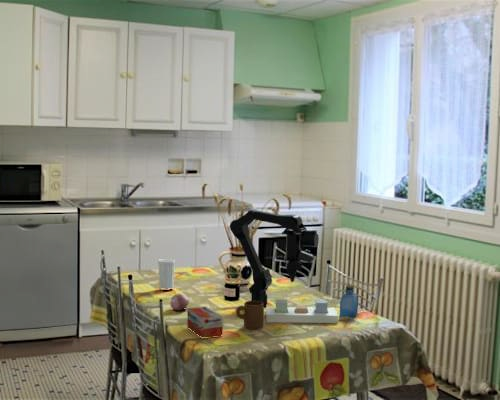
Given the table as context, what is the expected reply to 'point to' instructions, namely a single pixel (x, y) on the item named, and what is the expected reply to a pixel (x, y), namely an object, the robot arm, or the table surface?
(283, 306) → the button sage
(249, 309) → the mug
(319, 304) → the button slate
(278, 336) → the table surface
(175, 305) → the onion
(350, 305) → the perfume bottle
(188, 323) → the medicine box
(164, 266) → the cup
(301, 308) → the button terracotta
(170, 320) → the table surface
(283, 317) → the panel
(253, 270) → the robot arm
